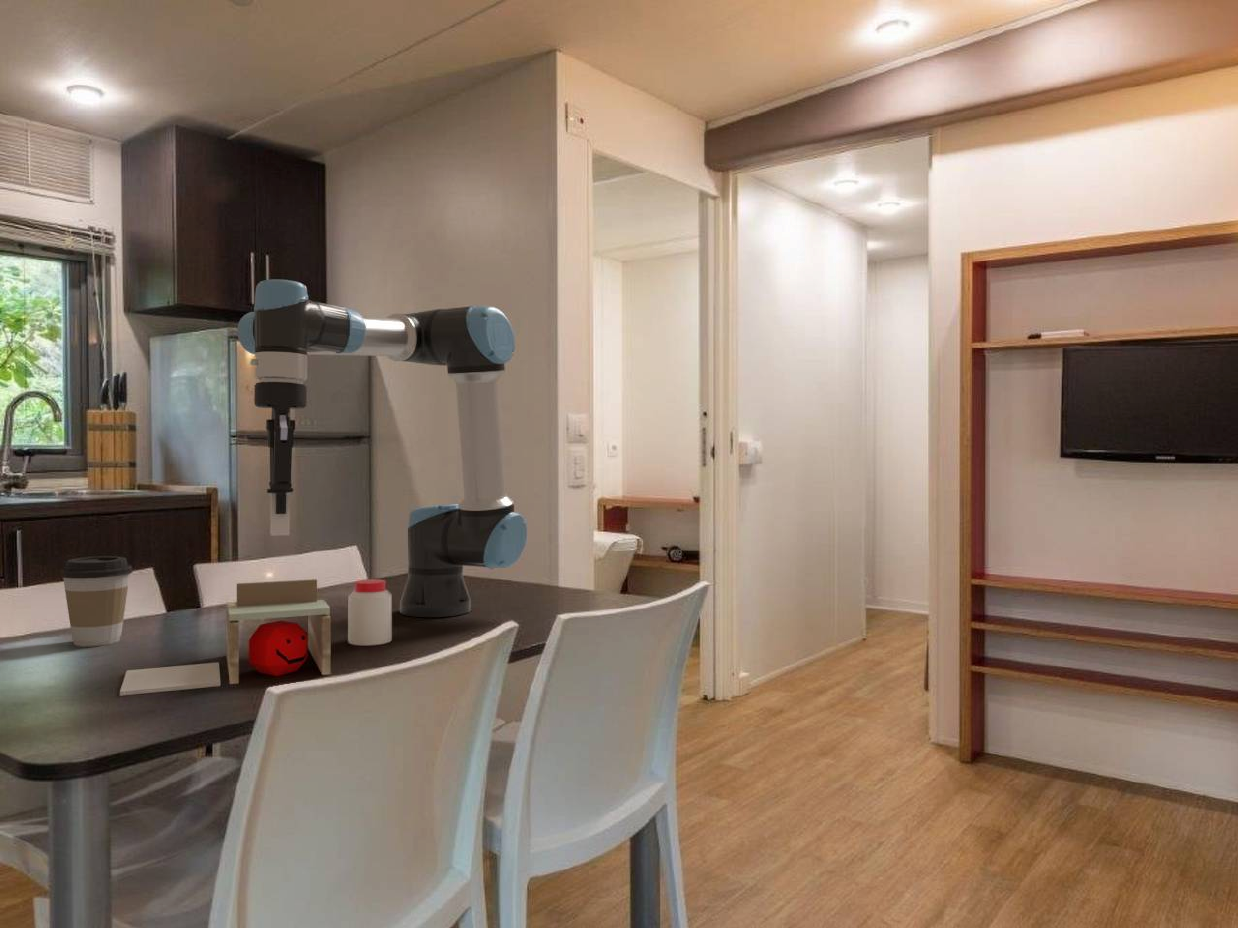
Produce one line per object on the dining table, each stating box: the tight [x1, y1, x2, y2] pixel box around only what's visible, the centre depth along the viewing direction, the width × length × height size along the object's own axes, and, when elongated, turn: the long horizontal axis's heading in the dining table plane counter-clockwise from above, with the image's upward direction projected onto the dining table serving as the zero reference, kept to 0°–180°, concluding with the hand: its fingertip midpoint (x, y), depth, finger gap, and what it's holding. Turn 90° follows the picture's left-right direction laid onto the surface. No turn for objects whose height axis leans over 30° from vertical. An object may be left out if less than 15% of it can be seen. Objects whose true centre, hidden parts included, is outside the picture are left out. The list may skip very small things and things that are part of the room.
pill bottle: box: [347, 578, 393, 647], centre depth 161 cm, size 8×8×11 cm
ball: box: [248, 620, 308, 677], centre depth 139 cm, size 8×8×8 cm
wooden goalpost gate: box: [225, 601, 332, 685], centre depth 143 cm, size 14×20×9 cm
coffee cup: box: [59, 555, 134, 648], centre depth 158 cm, size 11×11×15 cm
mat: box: [119, 661, 221, 697], centre depth 133 cm, size 13×13×1 cm
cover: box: [228, 578, 331, 621], centre depth 138 cm, size 14×8×4 cm, turn 116°
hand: (279, 534), depth 135 cm, fingers closed
